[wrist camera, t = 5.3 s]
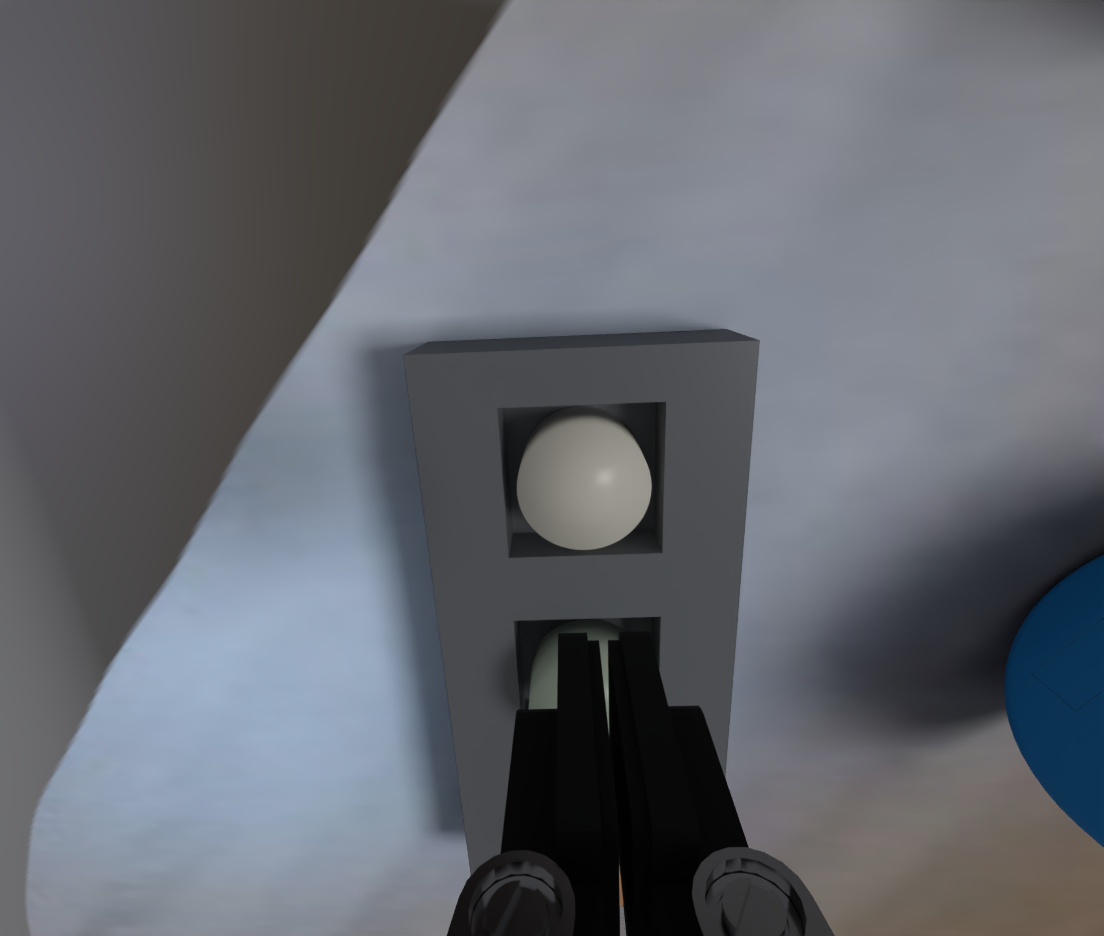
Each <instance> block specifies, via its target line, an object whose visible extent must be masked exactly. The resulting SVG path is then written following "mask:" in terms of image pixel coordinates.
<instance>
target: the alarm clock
mask: <svg viewBox="0 0 1104 936" xmlns="http://www.w3.org/2000/svg"><path fill="white" fill-rule="evenodd" d="M1004 694H1005V705H1006V711H1007V715H1008V720H1009V724H1010V727H1011V730H1012V733H1013V736H1014V738H1015V741H1016V743H1017V745H1018V747H1019V749H1020V752H1021V754H1022V756H1023V757H1024V759H1025V761H1026V762H1027V764H1028V766H1029V768H1030V769H1031V771H1032V772H1033V774H1034V775H1035V777H1036V778H1037V780H1038V781H1039V782H1040V784H1041V785H1042V787H1043V788H1044V789H1045V791H1046V792H1047V793H1048V794H1049V795H1050V797H1051V798H1052V799H1053V800H1054V801H1055V802H1056V803H1057V805H1058V806H1059V807H1060V808H1061V809H1062V810H1063V811H1064V812H1065V813H1066V814H1067V815H1068V816H1069V817H1070V818H1071V819H1072V820H1073V821H1074V822H1075V823H1076V824H1077V825H1078V826H1079V827H1081V828H1082V829H1083V830H1084V831H1085V832H1086V833H1087V834H1089V835H1090V836H1091V837H1092V838H1093V839H1094V840H1096V841H1097V842H1098V843H1099V844H1100V845H1101V846H1102V847H1104V555H1102V556H1100V557H1098V558H1096V559H1094V560H1092V561H1090V562H1089V563H1087V564H1085V565H1083V566H1082V567H1080V568H1078V569H1077V570H1075V571H1074V572H1073V573H1071V574H1070V575H1068V576H1067V577H1065V578H1064V579H1063V580H1061V581H1060V582H1059V583H1058V584H1057V585H1055V586H1054V587H1053V588H1052V589H1051V590H1050V591H1049V592H1048V593H1047V594H1046V595H1044V596H1043V597H1042V598H1041V600H1040V601H1039V602H1038V603H1037V604H1036V605H1035V607H1034V608H1033V609H1032V610H1031V611H1030V613H1029V614H1028V616H1027V617H1026V619H1025V620H1024V622H1023V623H1022V625H1021V627H1020V629H1019V631H1018V632H1017V634H1016V637H1015V639H1014V641H1013V644H1012V646H1011V649H1010V653H1009V656H1008V660H1007V664H1006V671H1005V681H1004Z"/></svg>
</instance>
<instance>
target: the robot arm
mask: <svg viewBox="0 0 1104 936" xmlns="http://www.w3.org/2000/svg"><path fill="white" fill-rule="evenodd" d="M608 690H609V730H608V721H607V711H606V702H605V692H604V683H603V673H602V664H601V654H600V645H599V640H588V638H587V632H583V633H558V678H557V709H517V712H516V718H515V726H514V735H513V744H512V753H511V762H510V771H509V780H508V789H507V798H506V807H505V816H504V825H503V834H502V843H501V852H500V854H499V855H496V856H494V857H492V858H491V859H489V860H488V861H486V862H485V863H483V864H482V865H480V866H479V867H478V868H477V869H476V871H475V872H474V873H473V874H472V875H471V876H470V878H469V879H468V880H467V881H466V884H465V886H464V888H463V890H462V892H461V894H460V896H459V898H458V902H457V905H456V908H455V911H454V914H453V917H452V921H451V924H450V927H449V930H448V933H447V936H620V897H619V866H620V876H621V886H622V896H623V906H624V916H625V926H626V936H835V935H834V934H833V932H832V930H831V928H830V927H829V925H828V923H827V921H826V919H825V918H824V916H823V914H822V912H821V911H820V909H819V907H818V905H817V903H816V902H815V900H814V898H813V896H812V895H811V893H810V892H809V890H808V889H807V888H806V886H805V885H804V883H803V882H802V881H801V879H800V878H799V877H798V876H797V875H796V874H795V873H794V872H793V871H792V870H791V869H789V868H788V867H787V866H786V865H785V864H784V863H783V862H781V861H779V860H777V859H776V858H774V857H772V856H770V855H768V854H766V853H765V852H762V851H758V850H754V849H751V848H749V847H748V844H747V841H746V838H745V835H744V832H743V829H742V827H741V824H740V821H739V818H738V815H737V812H736V809H735V806H734V803H733V800H732V797H731V794H730V791H729V788H728V785H727V782H726V779H725V776H724V773H723V770H722V767H721V764H720V761H719V758H718V755H717V752H716V749H715V746H714V743H713V740H712V737H711V734H710V731H709V728H708V725H707V722H706V719H705V716H704V714H703V711H702V709H701V708H700V706H699V705H698V706H668V702H667V699H666V695H665V691H664V687H663V683H662V679H661V675H660V671H659V667H658V663H657V660H656V656H655V652H654V648H653V644H652V640H651V636H650V633H649V631H622V632H619V640H608Z"/></svg>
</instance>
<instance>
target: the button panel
mask: <svg viewBox="0 0 1104 936" xmlns="http://www.w3.org/2000/svg"><path fill="white" fill-rule="evenodd" d="M759 342H760V340H757V339H754V338H751V337H748V336H745V335H742V334H740V333H737V332H734V331H731V330H728V329H724V330H700V331H676V332H653V333H629V334H605V335H581V336H558V337H534V338H510V339H486V340H463V341H439V342H427V343H426V344H424V345H422V346H420V347H418V348H416V349H414V350H412V351H410V352H408V353H407V354H405V355H403V357H404V365H405V372H406V380H407V388H408V395H409V403H410V411H411V419H412V426H413V434H414V442H415V449H416V457H417V465H418V473H419V480H420V488H421V496H422V503H423V511H424V519H425V526H426V534H427V542H428V550H429V557H430V565H431V573H432V580H433V588H434V596H435V604H436V611H437V619H438V627H439V634H440V642H441V650H442V658H443V665H444V673H445V681H446V688H447V696H448V704H449V712H450V719H451V727H452V735H453V742H454V750H455V758H456V766H457V773H458V781H459V789H460V796H461V804H462V812H463V819H464V827H465V835H466V843H467V850H468V858H469V866H470V873H471V875H472V874H473V873H474V872H475V871H476V869H477V868H478V867H479V866H480V865H482V864H483V863H485V862H486V861H488V860H489V859H491V858H492V857H494V856H496V855H499V854H500V852H501V843H502V834H503V825H504V816H505V807H506V798H507V789H508V780H509V771H510V762H511V753H512V744H513V735H514V726H515V718H516V712H517V709H529V696H530V683H531V670H532V660H533V655H534V652H535V649H536V648H537V646H538V644H539V643H540V641H541V640H542V639H543V638H544V637H545V635H546V634H548V633H549V632H550V631H551V630H553V629H555V628H556V627H558V626H560V625H562V624H564V623H568V622H571V621H575V620H582V619H595V620H602V621H605V622H609V623H612V624H614V625H616V626H618V627H620V628H622V629H623V630H625V631H649V633H650V636H651V640H652V644H653V648H654V652H655V656H656V660H657V663H658V667H659V671H660V675H661V679H662V683H663V687H664V691H665V695H666V699H667V702H668V706H698V705H699V706H700V708H701V709H702V711H703V714H704V716H705V719H706V722H707V725H708V728H709V731H710V734H711V737H712V740H713V743H714V746H715V749H716V752H717V755H718V758H719V761H720V764H721V767H722V770H723V773H724V776H725V774H726V762H727V749H728V736H729V724H730V711H731V698H732V685H733V673H734V660H735V647H736V635H737V622H738V609H739V596H740V584H741V571H742V558H743V546H744V533H745V520H746V507H747V495H748V482H749V469H750V457H751V444H752V431H753V419H754V406H755V393H756V380H757V368H758V355H759ZM578 406H586V407H594V408H598V409H602V410H605V411H607V412H609V413H611V414H613V415H615V416H616V417H618V418H619V419H620V420H621V421H623V422H624V423H625V424H626V425H627V426H628V427H629V429H630V430H631V432H632V433H633V434H634V436H635V438H636V440H637V442H638V445H639V447H640V449H641V451H642V454H643V456H644V458H645V460H646V462H647V465H648V468H649V471H650V476H651V485H652V489H651V497H650V502H649V505H648V508H647V510H646V512H645V514H644V516H643V518H642V520H641V521H640V522H639V524H638V525H637V526H636V527H635V528H634V529H633V530H632V531H631V532H630V533H629V534H628V535H626V536H625V537H624V538H622V539H621V540H619V541H617V542H615V543H613V544H611V545H608V546H605V547H602V548H597V549H591V550H575V549H569V548H565V547H561V546H558V545H556V544H553V543H551V542H550V541H548V540H546V539H545V538H543V537H542V536H540V535H539V534H538V533H537V532H536V531H535V530H534V529H533V528H532V527H531V526H530V525H529V523H528V522H527V520H526V519H525V517H524V516H523V513H522V511H521V509H520V506H519V502H518V497H517V479H518V473H519V468H520V464H521V459H522V454H523V450H524V447H525V444H526V442H527V439H528V437H529V436H530V434H531V433H532V431H533V430H534V429H535V427H536V426H537V425H538V424H539V423H540V422H541V421H542V420H544V419H545V418H547V417H548V416H549V415H551V414H553V413H555V412H557V411H560V410H563V409H566V408H570V407H578Z"/></svg>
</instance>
